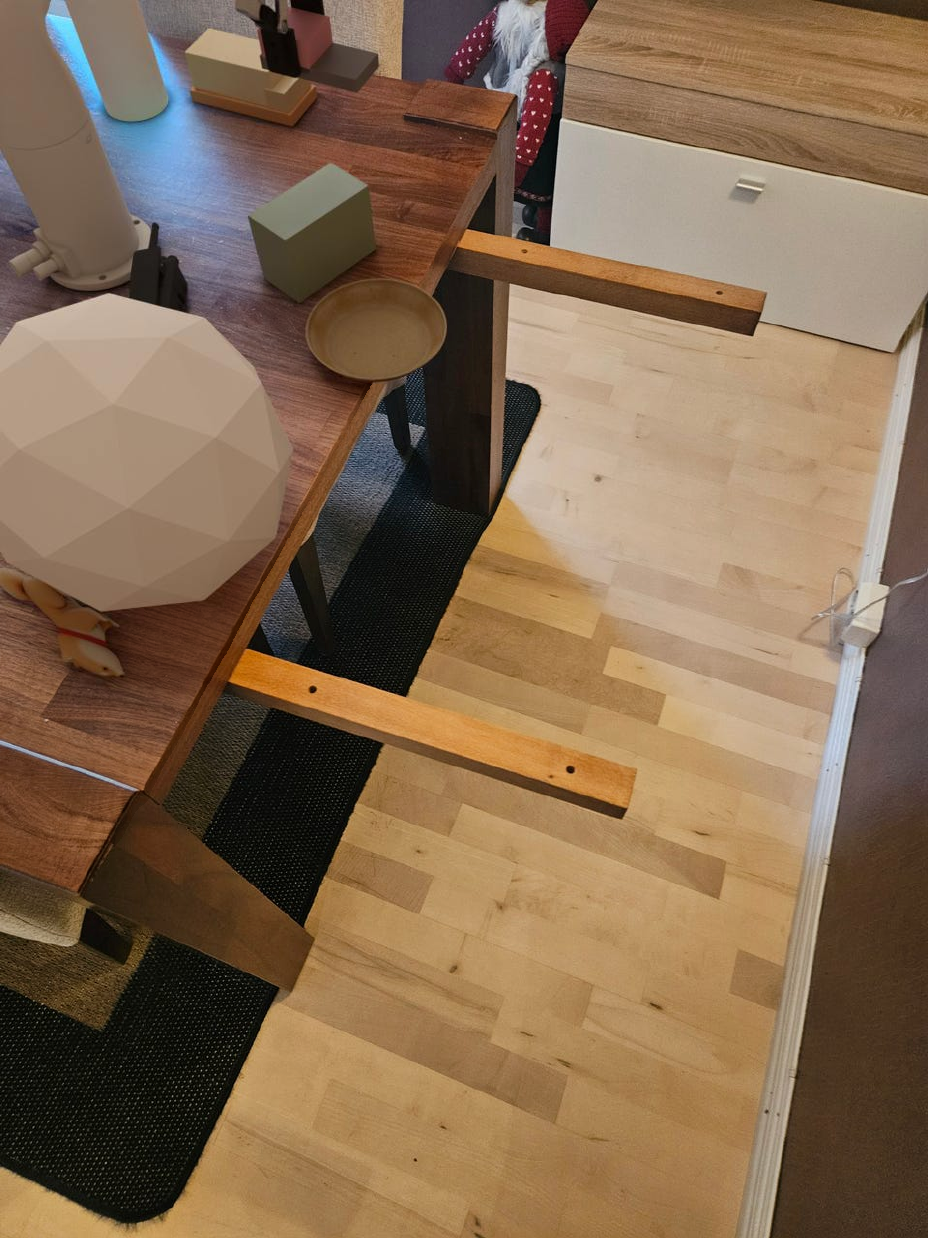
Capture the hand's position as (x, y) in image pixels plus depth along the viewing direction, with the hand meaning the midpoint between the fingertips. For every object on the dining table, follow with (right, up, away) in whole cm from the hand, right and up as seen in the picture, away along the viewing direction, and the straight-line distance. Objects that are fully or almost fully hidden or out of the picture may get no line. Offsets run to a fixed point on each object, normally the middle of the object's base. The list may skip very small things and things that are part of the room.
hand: (298, 55), depth 79 cm
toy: (-18, -51, -5) cm, 54 cm away
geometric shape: (-14, -29, -5) cm, 33 cm away
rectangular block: (-1, -12, +18) cm, 21 cm away
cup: (-28, +15, +33) cm, 46 cm away
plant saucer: (+6, -23, +12) cm, 27 cm away
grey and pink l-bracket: (+2, -1, 0) cm, 2 cm away
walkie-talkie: (-17, -25, +8) cm, 31 cm away
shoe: (-12, +16, +33) cm, 39 cm away
